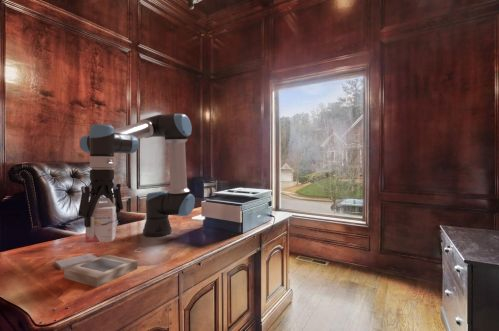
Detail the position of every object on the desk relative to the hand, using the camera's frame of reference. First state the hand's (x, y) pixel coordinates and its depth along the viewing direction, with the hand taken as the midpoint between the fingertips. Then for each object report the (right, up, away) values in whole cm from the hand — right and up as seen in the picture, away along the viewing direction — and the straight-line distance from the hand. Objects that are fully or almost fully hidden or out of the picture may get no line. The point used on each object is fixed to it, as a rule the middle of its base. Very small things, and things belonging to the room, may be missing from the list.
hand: (102, 233), depth 93 cm
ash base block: (0, -14, 0) cm, 14 cm away
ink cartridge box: (0, -3, 0) cm, 3 cm away
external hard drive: (-16, -15, +11) cm, 24 cm away
